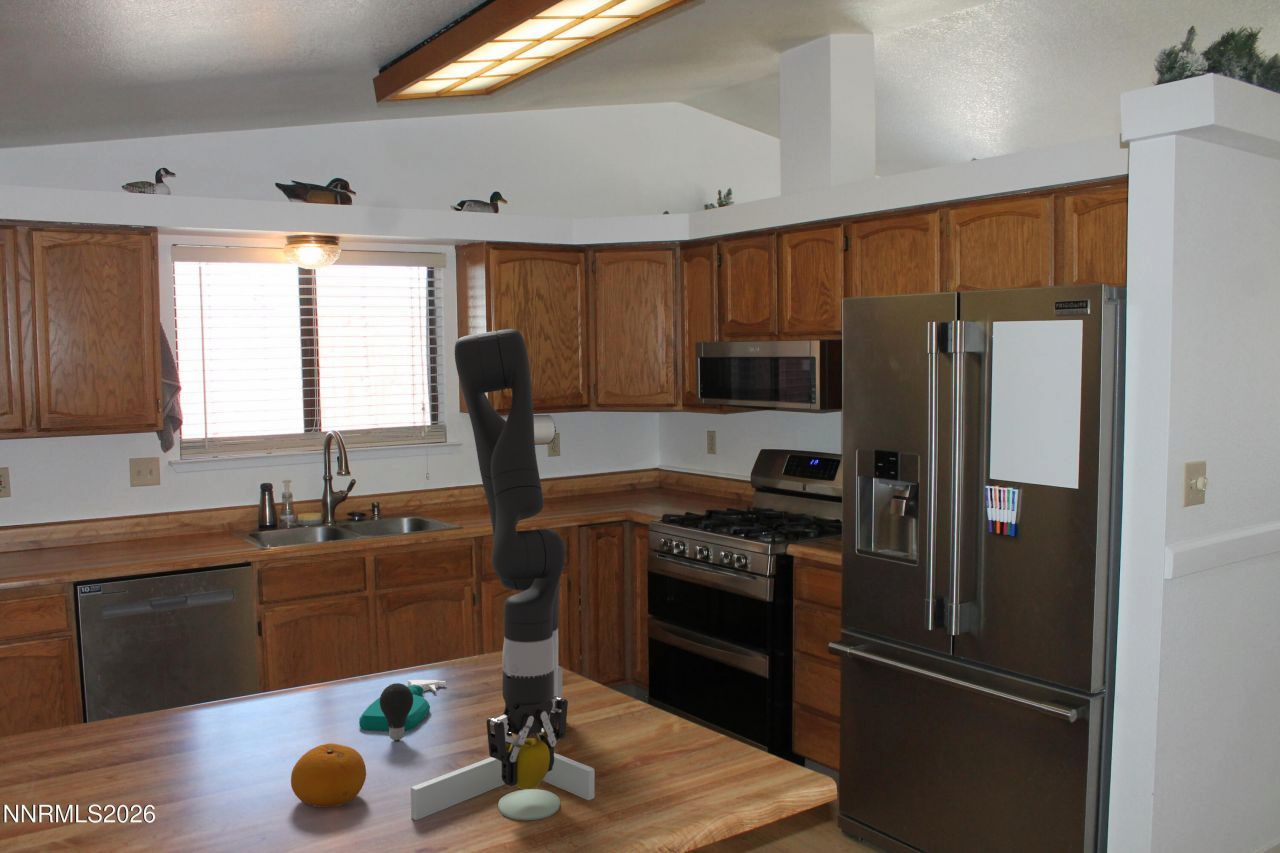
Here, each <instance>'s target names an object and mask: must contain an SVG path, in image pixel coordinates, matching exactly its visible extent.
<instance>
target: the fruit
mask: <svg viewBox="0 0 1280 853" xmlns="http://www.w3.org/2000/svg"><path fill="white" fill-rule="evenodd" d="M366 777H367V769H366V764H365V761H364V758H363V756H362V755H361V754H360V753H359V752H358V751H357V750H356V749H354V748H353V747H350V746H347V745H344V744H343V745H342V744H338V743H324V744H320V745H318V746H316V747H314V748H311V749H309V750H308V751H307V752H305V753H304V754H303V755H302V756H301V757H300V758H299V759H297V762H295V764H294V766H293V768H292V771H291V776H290V786H291V789H292V791H293V793H294V795H295V797H296V798H297V799H299V800H300V801H301V802H302V803H304V804H306V805H309V806H313V807H317V808H318V807H319V808H328V807H329V808H330V807H336V806H338V807H339V806H341V805H345V804H347V803H349V802H351V801H352V800H354V799H355V798H356V797H357V796H358V795H359V793H360V792H361V790H363V786H364V785H365V782H366Z"/></svg>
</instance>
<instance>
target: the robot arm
mask: <svg viewBox="0 0 1280 853" xmlns="http://www.w3.org/2000/svg"><path fill="white" fill-rule="evenodd" d="M454 361H455V367H456V371H457V376H458V379H459V383H460V387H461V389H462V394H463V396H464V401H465V405H466V408H467V412H468V415H469V420H470V422H471V427H472V432H473V438H474V443H475V449H476V454H477V460H478V467H479V472H480V477H481V482H482V486H483V490H484V494H485V498H486V502H487V506H488V510H489V517H490V521H491V526H492V527H491V528H492V535H493V543H492V548H491V564H492V568H493V571H494V572H495V573H496V575H497V576H498V579H499V581H500V583H501V585H502V586H503V588H505V589H507V590H510V591H511V590H512V591H521V592H518V593H515V594H513V595H511V596H510V597H508V598H507V599H506V600H505V602H504V607H503V608H504V611H503V614H504V615H503V616H504V617H503V618H504V623H503V624H504V625H503V627H504V631H503V632H504V634H503V635H504V637H503V645H502V659H501V660H502V662H501V663H502V666H501V667H502V674H501V675H502V698H503V700H504V703H505V706H504V710H503V713H502V715H500V716H498V717H496V718H493V717H489V718H488V719H486V731H487V741H488V742H487V743H488V752H489V758H490V757H492V758H495V759H498V760H499V761H502V780H503V781H504V783H505V784H504V785H507V786H509V787H511V788H512V787H514V786H515V785H517V761H516V758H517V755H518V752H519V749H520V747H522V746H523V745H524V742H525V740H526V738H530V736H532V735H534V734H535V735H536V736H537V739H539V740H542V741H543V742H544V743H545V744H546V745H547V746H548V749H549V753H550V761H549V768H548V771H547V772H549V771H551V770H552V766H553V764H554V753H555V746H556V744H557V742H558V741H559V740H564V738H565V736H566V732H567V730H566V728H567V716H568V706H569V705H568V704H569V702H568V700H567V699H565V698H563V668H562V666H559V615H560V612H559V611H560V589H561V588H560V587H561V585H560V584H561V577H562V574H563V570H564V567H565V562H566V546H565V541H564V540H563V538H562V536H561V535H560V534H559V533H558V532H557V531H556V530H554V529H550V528H542V529H531V530H518V531H517V526H518V524H519V522H520V521H523V520H525V519H529V518H532V517H534V516H536V515H538V514H540V513H541V512H542V511H543V508H544V504H545V502H544V495H543V490H542V484H541V479H540V472H539V471H540V470H539V467H538V466H539V465H538V460H537V453H536V444H535V443H536V441H535V422H534V419H535V418H534V417H535V416H534V404H533V390H532V389H533V388H532V378H531V369H530V361H529V354H528V350H527V345H526V342H525V340H524V337H523V334H522V333H521V332H520V331H519V330H518V329H517V328H506V329H499V330H497V331H496V330H492V331H486V332H479V333H477V334H476V333H475V334H469V335H465V336H462V337H459V338H458V339H457V340H456V342H455V344H454ZM504 390H511V392H512V393H511V395H512V397H511V406H510V408H509V409H510V410H509V413H508V416H507V419H506V420H505V419H504V418H503V416H501V415H500V414H499V412H497V410H496V409H495V408H494V406H493V405H492V403H491V402H490V400H489V398H488V397H487V395H486V393H491V392H498V391H504ZM513 735H515V736H516V738H515V737H513ZM511 745H512V747H511V750H510V752H509V749H510V746H511ZM515 787H516V786H515Z"/></svg>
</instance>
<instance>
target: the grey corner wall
mask: <svg viewBox="0 0 1280 853" xmlns="http://www.w3.org/2000/svg"><path fill="white" fill-rule="evenodd" d="M595 773H596V772H595V768H594V767H592V766H589V765H586V764H583V763H581V762H578V761H575V760H574V759H570V758H568V757H566V756H563V755H561V754H558V753H555V752H554V764H553V766H552V770H551V771H549V772H547V774H546V775H545V777H544V778H543V780H542V781H543V782H545V783H547V784H550V785H552V786H554V787H556V788H559V789H560V790H564V791H566V792H569V793H571V794H573V795H575V796H577V797H580V798H582V799H584V800H587V801H591V800H593V799H595ZM505 785H506V784H505V783H504V781H503V780H502V761H499V760H498V759H495V758H492V757H490V756H489V757H488V758H485V759H483V760H480V761H478V762H475V763H472V764H469V765H466V766H464V767H461V768H458V769H456V770H453V771H451V772H448V773H446V774H443V775H440V776H438V777H435V778H433V779H430V780H427V781H424V782H422V783H419V784H415V785H414V786H410V818H411V819H413V820H415V821H418V820H421V819H423V818H426V817H428V816H430V815H432V814H435V813H437V812H441V811H443V810H445V809H448V808H450V807H452V806H454V805H457V804H459V803H462V802H465V801H467V800H469V799H472V798H474V797H478V796H479V795H482V794H485V793H487V792H489V791H491V790H493V789H495V790H496V789H497V788H499V787H502V786H505Z"/></svg>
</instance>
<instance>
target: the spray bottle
mask: <svg viewBox="0 0 1280 853" xmlns="http://www.w3.org/2000/svg"><path fill="white" fill-rule="evenodd" d="M446 685H447V682H446V680H438V679H408V680H407V685H406V686H407V687H408V688H409V689H410V690H411V692H412V694H413V705H412V708H411V710H410V712H409V714H408V716H407V718H406V723H405V726H404V733H405V732H409V731H411V730H413V729H414V728H415V727H417V726H418V725H419V724H420V723H421V722H423V720H424V719H425V718H426V716H427V715H428V714H429V712H430V709H431V705H430V703H429V701H428V700H427V699H426V698H425V697H424V696H422V695H423V694H424V692H425V691H432V692H434V693H437V688H440V687H446ZM358 722H359V723H358V724H359V728H360V729H361V730H362V731H370V732H371V731H374V732H389V726H388V721H387V719H386V717H385V715H384V714H383V712H382V710H381V707H380V697H378V698H377V699H375V700H374V701H373V702H372V703H371V704H370V705H368V706H367V708H366V709H365V710H364V711H363V713H362V714H361V715H360V717H359V720H358Z"/></svg>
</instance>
